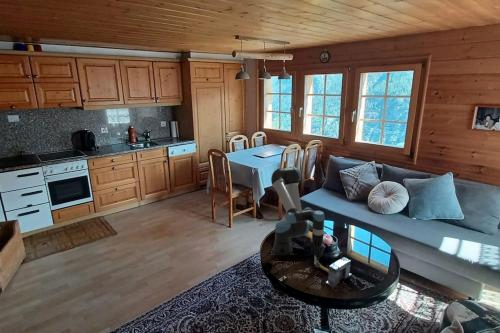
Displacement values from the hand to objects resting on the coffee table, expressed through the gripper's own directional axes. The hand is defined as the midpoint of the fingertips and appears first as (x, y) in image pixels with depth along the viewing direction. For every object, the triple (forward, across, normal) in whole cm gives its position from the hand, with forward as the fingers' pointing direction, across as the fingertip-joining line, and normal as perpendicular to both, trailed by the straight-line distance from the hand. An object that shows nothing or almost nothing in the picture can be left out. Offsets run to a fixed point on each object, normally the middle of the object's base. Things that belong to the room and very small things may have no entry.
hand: (316, 263), depth 202 cm
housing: (+2, +18, 0) cm, 19 cm away
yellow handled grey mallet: (+2, +10, 0) cm, 10 cm away
